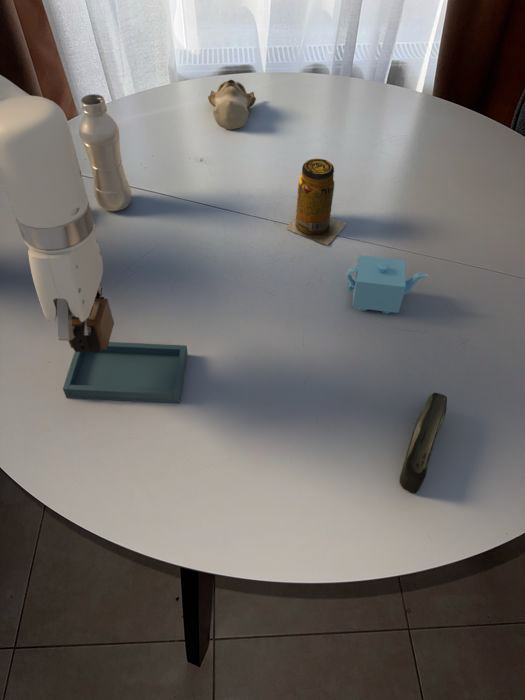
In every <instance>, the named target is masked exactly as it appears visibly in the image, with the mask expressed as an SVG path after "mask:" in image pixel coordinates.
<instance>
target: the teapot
mask: <svg viewBox="0 0 525 700" xmlns="http://www.w3.org/2000/svg"><path fill="white" fill-rule="evenodd" d="M351 274H354V277H352V275H351ZM346 277H347V280H348V282H349V284H348V285H347V290H348V291H349V292H352V303H351V308H355V309H358V310H359V311H361V312H365V311H368V310H371V311H378V312H379V311H380V312H382V313H383V314H386V315H388V314H391V313H397V314H398V313H399V312H400V308H401V306H402V303H403V302H402V301H403V298H404V296H405V295H406V294H409V292H410V291H412V289H413V288H414V287H415V285H416V284H417V282H418V281H419V280H420V279H423V278H426V277H427V278H428V277H429V274H428V273H426V272H417V273H415V274H414V275H412V276H411V277H410V278H409V279H407V280H406V278H407V277H406V259H401V258H400V259H399V258H391V257H382V256H373V255H364V254H363V255H362V254H358V257H357V263H356V266H354V267H350V268H349V269H348V270H347V272H346ZM353 278H354V279H353Z"/></svg>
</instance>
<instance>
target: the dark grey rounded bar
mask: <svg viewBox="0 0 525 700" xmlns="http://www.w3.org/2000/svg"><path fill="white" fill-rule="evenodd" d="M447 404H448V397H447V396H446V395H445V394H442V393H439V392H432V393H431V394H430V395H429V396H428V397H427V401H426V403H425V405H424V407H423V410H422V411H421V412H420V413H419V415H418V417H417V419H416V422H415V425H414V428H413V432H412V434H411V438H410V440H409V444H408V446H407V447H408V448H407V451H406V455H405V459H404V462H403V465H402V469H401V472H400V475H399V485H400V486H401V487H402V489H403V490H405V491H407V492H408V493H411V494H417V493H418V492H419V491H420V488H421V486H422V485H423V483H424V481H425V479H426V476H427V472H428V467H429V463H430V460H431V456H432V452H433V449H434V446H435V442H436V438H437V436H438V434H439V431H440V430H441V428H442V425H443V423H444V420H445V417H446V414H447V409H448V407H447Z"/></svg>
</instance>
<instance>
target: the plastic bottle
mask: <svg viewBox="0 0 525 700" xmlns="http://www.w3.org/2000/svg"><path fill="white" fill-rule="evenodd" d="M80 104H81V112H82V114H84V115H83V116H82V119H81V121H80V123H79V126H78V134H79V137H80V139H81V142H82V145H83V147H84V150H85V152H86V156H87V158H88V162H89V164H90V168H91V175H92V181H93V196H94V198H95V201H96V203H97V205H99V207H101V208H102V209H104V210H106V211H109V212H119V211H122V210H124V209H126V208H127V207H128V206H129V205H130V203H131V201H132V189H131V185H130V183H129V181H128V179H127V176H126V173H125V169H124V166H123V160H122V154H121V141H120V139H121V138H120V137H121V136H120V128H119V126H118V124H117V122H116V120H114V118H113V117H111V116H110V115H109V114H108V112H107V111H108V108H107V105H106V100H105V98H104V96H102V95H101V94H95V93H93V94H92V93H91V94H86V95H84V96H82V98H81V99H80Z"/></svg>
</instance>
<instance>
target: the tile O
mask: <svg viewBox="0 0 525 700" xmlns="http://www.w3.org/2000/svg"><path fill="white" fill-rule="evenodd" d="M89 322H90V328H92V329H94V330H95V333H96V337H97V340H98V343H99V346H100V349H106V350H107V347H108V344H109V342H110V340H111V336H112V333H113V329H114V326H115V321H114V317H113V313H112V310H111V306H110V303H109V299H108V298H104V299H99V298H95V300H94V303H93V306H92V309H91V312H90V315H89ZM72 325H82V322H81V321H80V320H79V319H72ZM68 343H69V346H70V348H71V349H73V346H72V343H71V341H68Z"/></svg>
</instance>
